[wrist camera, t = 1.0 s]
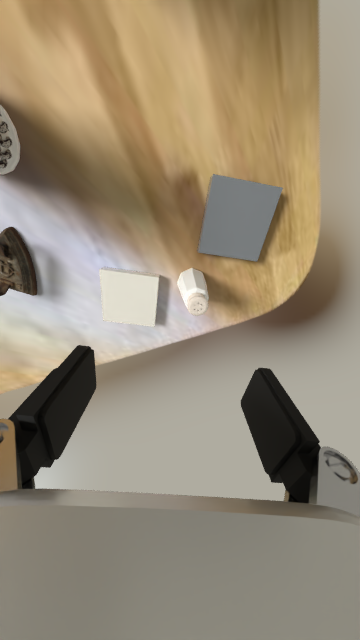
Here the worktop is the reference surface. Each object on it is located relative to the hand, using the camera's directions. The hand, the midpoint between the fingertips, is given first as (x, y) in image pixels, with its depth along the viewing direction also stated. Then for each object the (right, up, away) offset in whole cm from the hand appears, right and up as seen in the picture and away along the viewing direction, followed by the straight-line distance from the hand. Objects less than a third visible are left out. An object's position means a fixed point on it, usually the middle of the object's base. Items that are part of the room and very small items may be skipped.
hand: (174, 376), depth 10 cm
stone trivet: (-9, +8, +23) cm, 26 cm away
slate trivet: (+9, +19, +18) cm, 27 cm away
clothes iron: (-28, +14, +20) cm, 37 cm away
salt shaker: (+3, +10, +23) cm, 25 cm away
